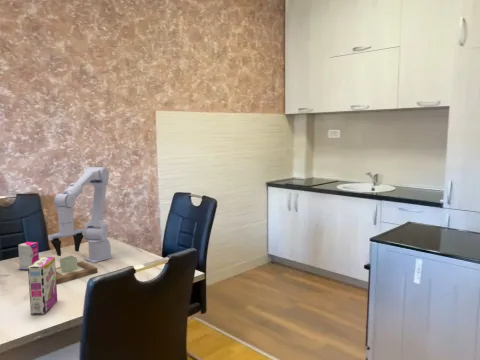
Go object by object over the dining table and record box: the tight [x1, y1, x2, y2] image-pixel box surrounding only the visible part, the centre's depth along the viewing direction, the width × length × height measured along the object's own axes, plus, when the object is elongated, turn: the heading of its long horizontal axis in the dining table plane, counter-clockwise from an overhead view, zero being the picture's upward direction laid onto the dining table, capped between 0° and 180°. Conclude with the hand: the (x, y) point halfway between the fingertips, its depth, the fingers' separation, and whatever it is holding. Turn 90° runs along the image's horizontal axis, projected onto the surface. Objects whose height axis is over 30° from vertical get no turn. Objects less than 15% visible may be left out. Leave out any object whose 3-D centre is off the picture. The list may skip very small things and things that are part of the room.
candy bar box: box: [27, 256, 58, 315], centre depth 135 cm, size 11×5×16 cm, turn 5°
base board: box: [56, 261, 99, 286], centre depth 167 cm, size 18×14×2 cm
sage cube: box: [59, 255, 78, 272], centre depth 166 cm, size 5×5×5 cm
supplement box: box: [17, 241, 40, 271], centre depth 175 cm, size 6×6×12 cm
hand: (68, 253), depth 166 cm, fingers open, 7 cm apart
